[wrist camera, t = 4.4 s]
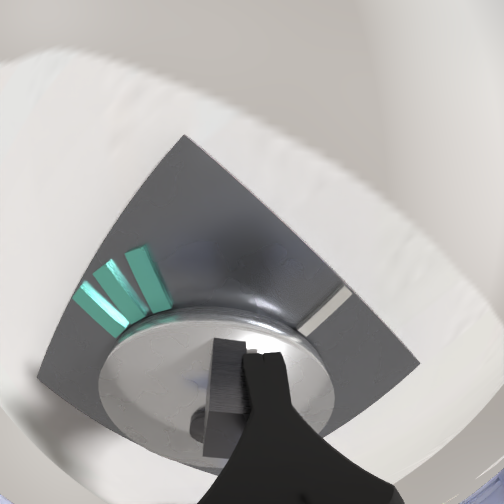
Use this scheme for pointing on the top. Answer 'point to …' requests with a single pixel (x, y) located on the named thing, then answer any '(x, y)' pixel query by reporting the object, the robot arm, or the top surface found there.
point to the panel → (217, 287)
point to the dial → (203, 380)
